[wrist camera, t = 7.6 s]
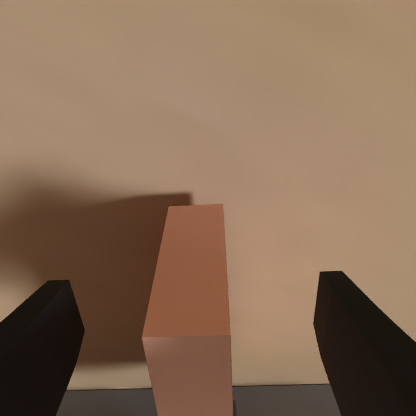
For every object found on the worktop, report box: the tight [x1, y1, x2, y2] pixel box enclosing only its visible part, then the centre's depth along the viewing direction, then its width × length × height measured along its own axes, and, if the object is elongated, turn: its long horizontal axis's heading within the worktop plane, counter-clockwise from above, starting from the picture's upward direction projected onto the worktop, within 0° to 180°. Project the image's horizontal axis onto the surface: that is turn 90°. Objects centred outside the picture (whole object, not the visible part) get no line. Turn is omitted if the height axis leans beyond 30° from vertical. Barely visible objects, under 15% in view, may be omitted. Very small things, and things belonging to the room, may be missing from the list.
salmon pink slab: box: [142, 204, 233, 416], centre depth 13 cm, size 2×10×6 cm, turn 3°
